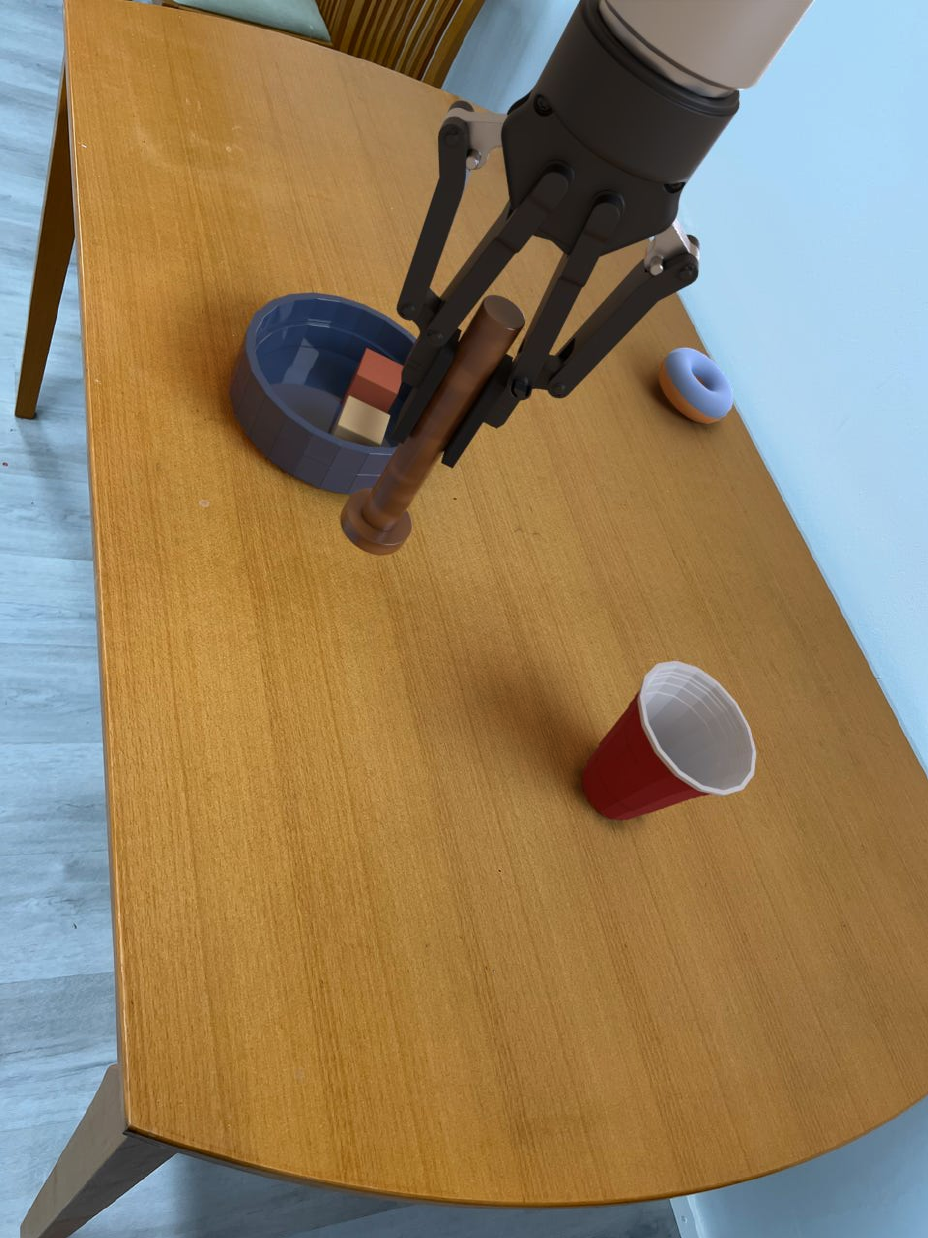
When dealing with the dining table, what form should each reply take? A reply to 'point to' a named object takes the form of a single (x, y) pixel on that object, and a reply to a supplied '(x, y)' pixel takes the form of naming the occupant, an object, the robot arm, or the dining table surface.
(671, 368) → the doughnut
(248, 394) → the bowl
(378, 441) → the birch block
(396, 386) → the terracotta block
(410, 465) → the muddler
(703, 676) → the plastic cup
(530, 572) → the dining table surface
